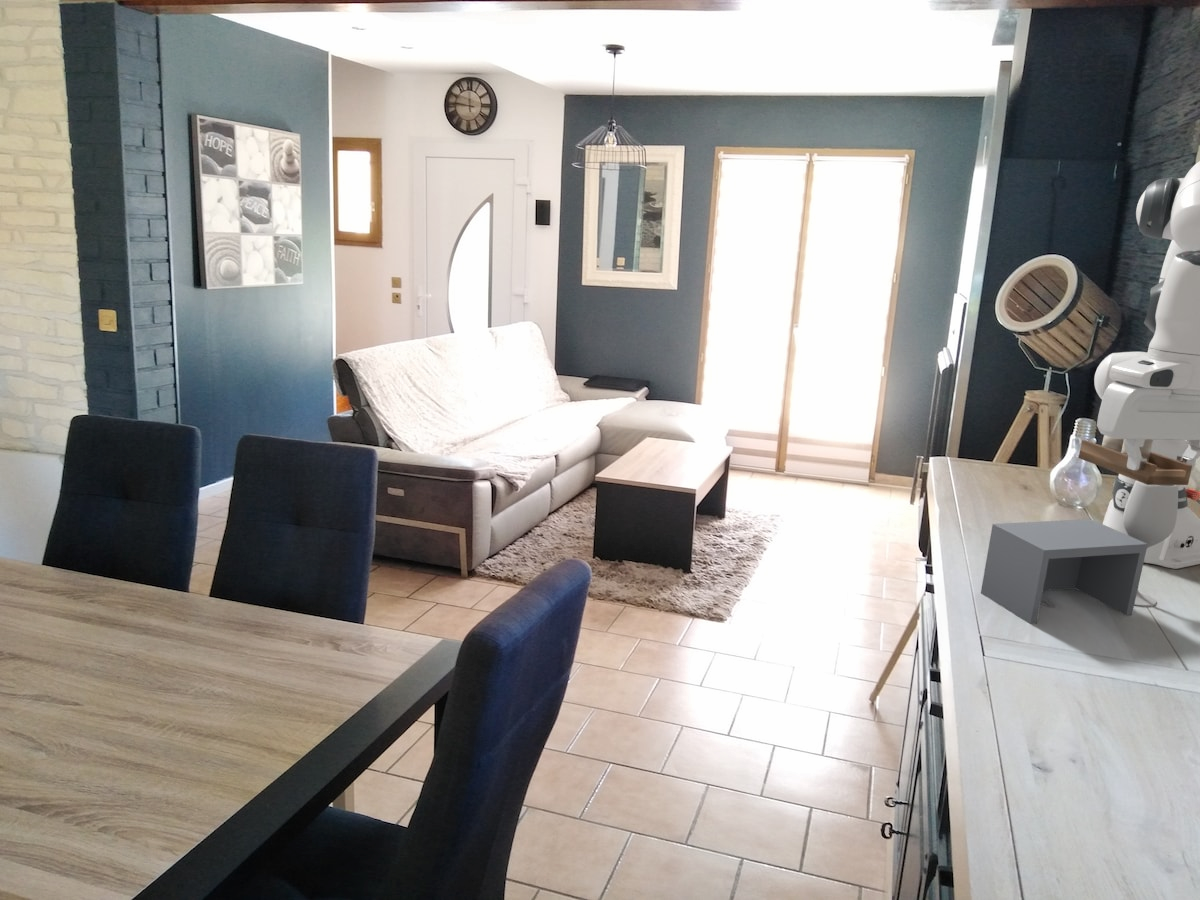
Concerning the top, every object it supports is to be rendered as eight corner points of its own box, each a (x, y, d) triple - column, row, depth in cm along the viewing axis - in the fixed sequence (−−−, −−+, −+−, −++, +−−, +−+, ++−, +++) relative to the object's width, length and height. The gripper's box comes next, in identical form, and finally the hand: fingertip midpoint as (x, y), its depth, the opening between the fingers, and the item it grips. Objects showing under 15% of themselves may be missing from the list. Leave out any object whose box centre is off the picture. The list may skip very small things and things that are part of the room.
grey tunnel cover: (1076, 585, 159) (1090, 519, 156) (1131, 615, 148) (1147, 543, 145) (980, 592, 154) (992, 524, 151) (1030, 623, 143) (1044, 550, 139)
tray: (1115, 458, 139) (1122, 425, 138) (1187, 484, 126) (1196, 448, 124) (1078, 457, 138) (1085, 424, 136) (1147, 484, 124) (1155, 448, 123)
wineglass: (1164, 609, 151) (1192, 490, 145) (1115, 603, 152) (1140, 485, 147) (1147, 591, 158) (1173, 477, 153) (1100, 586, 159) (1124, 472, 154)
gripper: (1226, 370, 128) (1204, 463, 131) (1100, 366, 124) (1081, 462, 128) (1265, 378, 122) (1241, 476, 125) (1134, 374, 118) (1113, 475, 122)
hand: (1159, 469), depth 126 cm, fingers closed on tray, 6 cm apart
